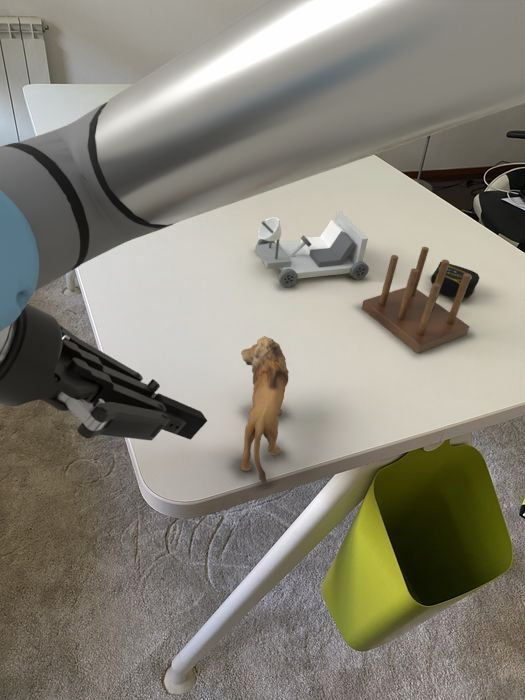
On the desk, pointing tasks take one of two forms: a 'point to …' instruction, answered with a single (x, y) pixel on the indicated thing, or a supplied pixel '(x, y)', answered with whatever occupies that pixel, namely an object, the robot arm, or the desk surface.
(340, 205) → the desk surface
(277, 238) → the toy car
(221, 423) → the desk surface
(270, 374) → the lion figurine
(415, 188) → the desk surface
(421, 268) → the walnut rack
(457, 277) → the tape measure
